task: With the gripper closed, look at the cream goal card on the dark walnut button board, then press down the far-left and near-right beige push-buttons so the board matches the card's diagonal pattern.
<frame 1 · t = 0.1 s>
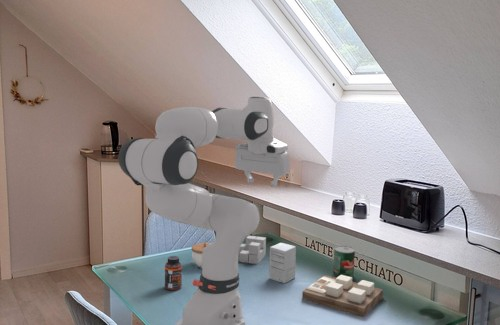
hand: (262, 184, 167), 39 cm above the table, tool pointing down, fingers open, 8 cm apart
button near left: (334, 289, 166), point 4 cm above the table, slide at 0.0 cm
lidded jar: (204, 265, 198), on the table
canned tomato: (343, 276, 189), on the table
button far right: (365, 287, 168), point 4 cm above the table, slide at 0.0 cm
button far left: (343, 282, 172), point 4 cm above the table, slide at 0.0 cm
supplement box: (282, 278, 186), on the table
puzzle cube: (248, 258, 208), on the table
button near right: (356, 295, 162), point 4 cm above the table, slide at 0.0 cm
button board: (342, 298, 169), on the table
supplement bottle: (173, 288, 175), on the table
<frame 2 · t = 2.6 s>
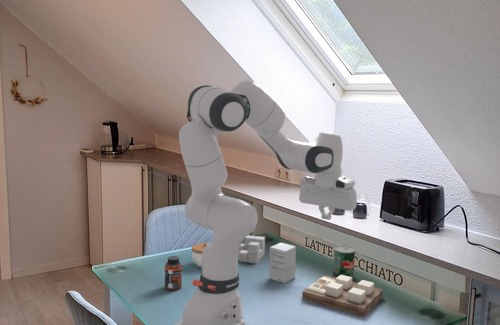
hand: (326, 218, 169), 27 cm above the table, tool pointing down, fingers closed
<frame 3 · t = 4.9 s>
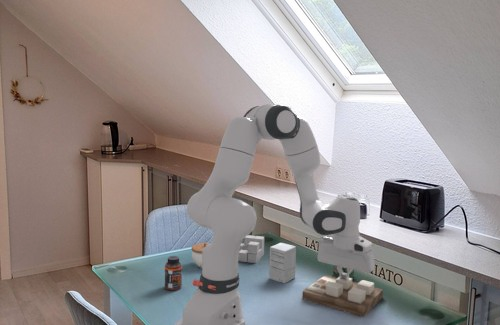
hand: (344, 278, 173), 5 cm above the table, tool pointing down, fingers closed, pressing on button far left
button far left: (343, 283, 173), point 4 cm above the table, slide at 0.4 cm, touching gripper
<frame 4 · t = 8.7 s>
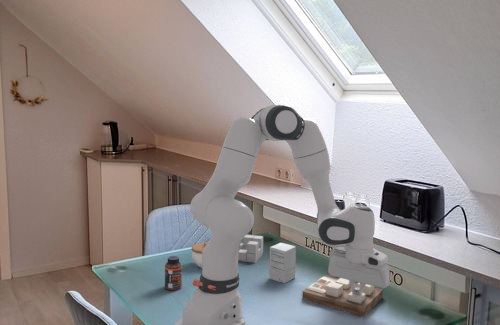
hand: (357, 293, 162), 5 cm above the table, tool pointing down, fingers closed, pressing on button near right
button far left: (343, 285, 173), point 3 cm above the table, slide at 1.2 cm
button near right: (356, 298, 162), point 3 cm above the table, slide at 1.0 cm, touching gripper
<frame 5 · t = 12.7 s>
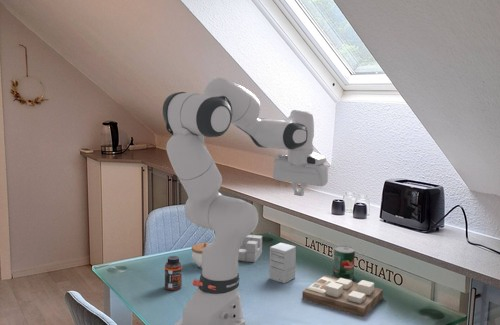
hand: (298, 195, 173), 34 cm above the table, tool pointing down, fingers closed
button near right: (356, 299, 162), point 3 cm above the table, slide at 1.2 cm
at the end: button far left slide at 1.2 cm; button near right slide at 1.2 cm; button far right slide at 0.0 cm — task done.
